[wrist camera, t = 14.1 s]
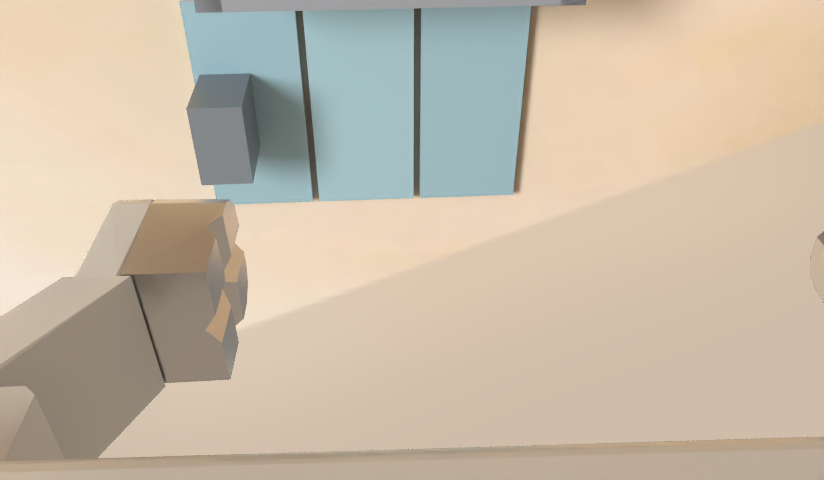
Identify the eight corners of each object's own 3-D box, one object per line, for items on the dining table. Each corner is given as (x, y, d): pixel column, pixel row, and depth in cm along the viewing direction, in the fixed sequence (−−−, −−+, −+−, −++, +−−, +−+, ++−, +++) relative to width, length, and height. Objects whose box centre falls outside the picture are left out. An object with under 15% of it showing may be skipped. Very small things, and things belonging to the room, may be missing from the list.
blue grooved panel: (529, -11, 35) (548, 23, 32) (510, 186, 42) (524, 232, 39) (182, -4, 35) (164, 32, 31) (219, 196, 41) (207, 244, 38)
